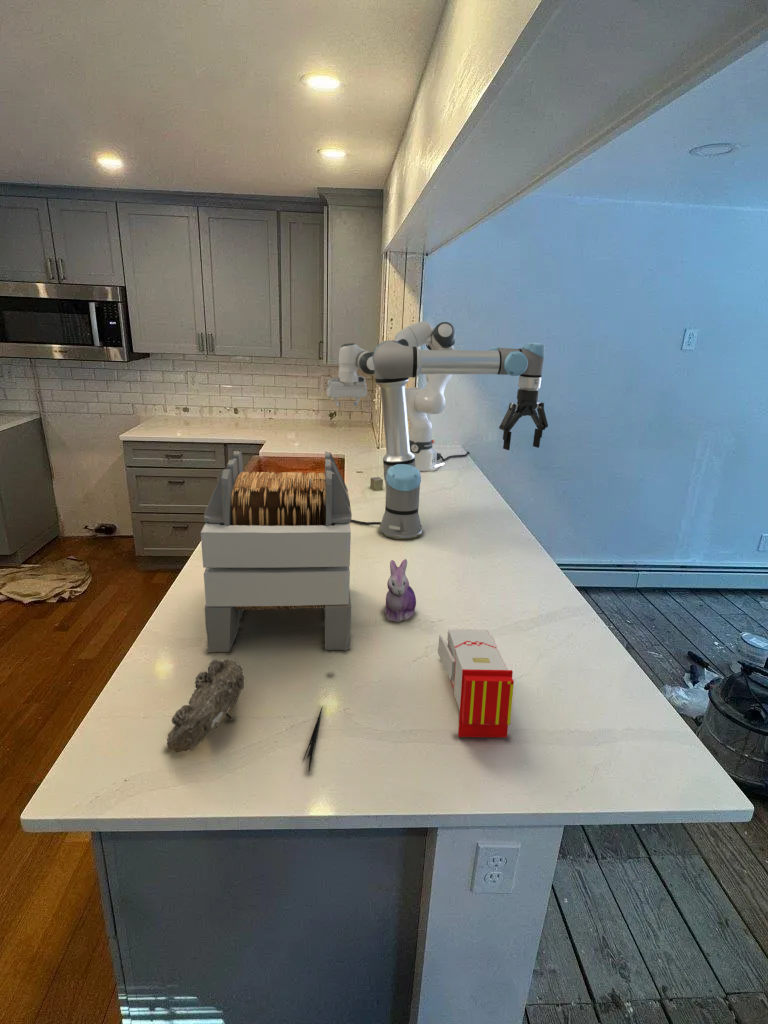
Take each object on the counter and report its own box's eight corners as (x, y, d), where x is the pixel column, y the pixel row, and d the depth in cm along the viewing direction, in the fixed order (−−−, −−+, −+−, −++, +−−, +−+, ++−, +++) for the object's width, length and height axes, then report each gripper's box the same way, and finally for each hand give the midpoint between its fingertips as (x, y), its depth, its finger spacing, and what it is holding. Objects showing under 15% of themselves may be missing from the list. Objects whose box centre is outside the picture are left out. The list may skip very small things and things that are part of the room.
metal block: (374, 490, 246) (374, 480, 244) (370, 487, 249) (370, 477, 248) (382, 489, 247) (383, 479, 246) (378, 487, 251) (378, 476, 250)
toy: (488, 613, 130) (523, 677, 101) (484, 667, 133) (517, 744, 104) (435, 612, 130) (455, 676, 101) (432, 666, 133) (451, 743, 103)
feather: (331, 679, 122) (336, 673, 122) (307, 777, 96) (313, 769, 95) (324, 675, 122) (329, 669, 121) (298, 772, 95) (304, 764, 95)
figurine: (392, 627, 141) (395, 572, 136) (374, 608, 149) (376, 556, 144) (425, 619, 145) (429, 566, 140) (405, 601, 154) (408, 550, 149)
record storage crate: (227, 584, 158) (219, 441, 145) (344, 583, 162) (347, 443, 148) (205, 654, 127) (191, 480, 113) (351, 650, 130) (355, 481, 117)
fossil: (192, 660, 117) (244, 628, 112) (224, 691, 120) (276, 661, 115) (142, 746, 98) (202, 712, 93) (182, 779, 101) (242, 748, 96)
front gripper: (506, 391, 191) (499, 452, 198) (563, 389, 201) (554, 448, 208) (493, 388, 197) (487, 447, 204) (549, 386, 207) (541, 443, 215)
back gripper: (329, 378, 268) (329, 408, 273) (368, 378, 277) (367, 406, 282) (325, 377, 274) (324, 406, 278) (363, 376, 283) (362, 404, 287)
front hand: (521, 448), depth 206 cm, fingers open, 13 cm apart
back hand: (346, 406), depth 280 cm, fingers open, 8 cm apart
